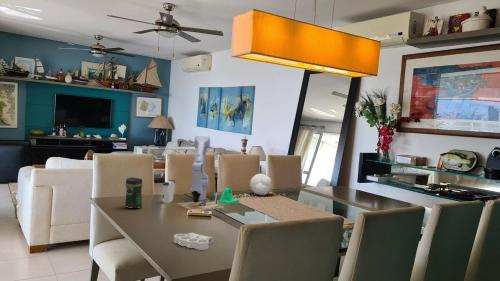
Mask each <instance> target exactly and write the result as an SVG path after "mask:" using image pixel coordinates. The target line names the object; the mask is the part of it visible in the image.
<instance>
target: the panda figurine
mask: <svg viewBox="0 0 500 281" xmlns="http://www.w3.org/2000/svg"><path fill="white" fill-rule="evenodd" d="M175 184H176V180H174V179H169V180H166V181H163V182H162V185H163V186H162V194H163V195H162V199H163V204H170V203H172V202H174V195H175V192H176V185H175Z"/></svg>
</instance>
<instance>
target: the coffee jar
mask: <svg viewBox="0 0 500 281" xmlns="http://www.w3.org/2000/svg"><path fill="white" fill-rule="evenodd" d="M125 187H126V188H125V189H126V190H125V192H126V193H125V203H124V207H125V206H128V207H132V208H138V207H141V208H143V201H142V200H143V198H142V195H143V194H142V187H143V179H142V178H139V177H127V178H126V180H125Z"/></svg>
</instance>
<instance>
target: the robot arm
mask: <svg viewBox="0 0 500 281" xmlns="http://www.w3.org/2000/svg"><path fill="white" fill-rule="evenodd" d="M194 145H195V148H196V149H197V150H196V153H195V155H194V161H193V162H192V166H191V167H192V168H191V169H192V170H191V171H192V185H191V186H190V187H189V188H190V191H191V195H192V199H193V202H198V201H203V199H204V198H207V188H209V182H210V178H209V175H208V174H206V160H207V159H206V157H207V155H206V154H207V150H209V149H210V146H211V137H210V136H208V135H207V136H206V135H204V136H202V135H201V136H200V135H195V137H194Z"/></svg>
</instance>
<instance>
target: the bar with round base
mask: <svg viewBox="0 0 500 281" xmlns="http://www.w3.org/2000/svg"><path fill="white" fill-rule="evenodd" d="M191 202H192V203H189V207H191V206H197V205H199V206H205V205H206V203H204V202H203V200H198V202H194V201H191Z"/></svg>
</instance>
